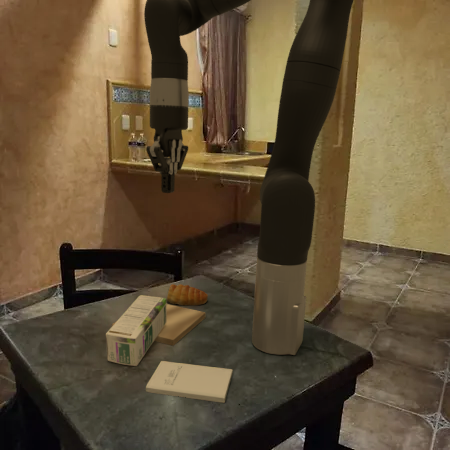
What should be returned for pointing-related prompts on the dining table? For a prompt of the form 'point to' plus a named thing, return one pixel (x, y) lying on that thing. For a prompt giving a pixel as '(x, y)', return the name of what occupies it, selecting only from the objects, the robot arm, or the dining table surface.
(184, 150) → the robot arm
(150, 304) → the syrup box
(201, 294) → the pastry
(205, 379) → the external hard drive
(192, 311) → the board
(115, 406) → the dining table surface
